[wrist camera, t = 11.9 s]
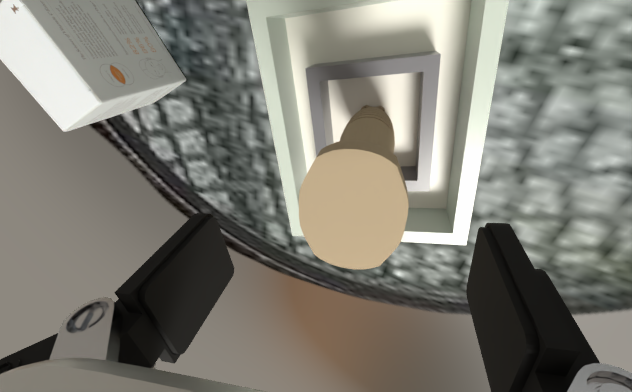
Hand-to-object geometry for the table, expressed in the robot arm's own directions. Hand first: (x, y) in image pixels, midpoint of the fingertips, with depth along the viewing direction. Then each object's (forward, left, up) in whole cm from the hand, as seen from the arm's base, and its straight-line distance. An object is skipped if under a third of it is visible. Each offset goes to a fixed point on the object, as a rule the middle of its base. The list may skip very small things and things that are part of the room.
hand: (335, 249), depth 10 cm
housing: (0, 0, -19) cm, 19 cm away
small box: (-7, -22, -20) cm, 31 cm away
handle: (0, 0, -18) cm, 18 cm away
